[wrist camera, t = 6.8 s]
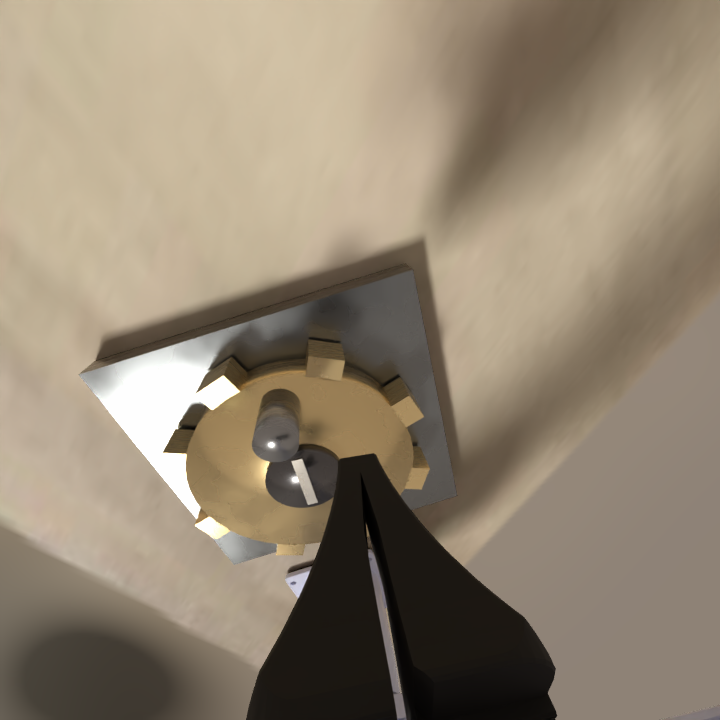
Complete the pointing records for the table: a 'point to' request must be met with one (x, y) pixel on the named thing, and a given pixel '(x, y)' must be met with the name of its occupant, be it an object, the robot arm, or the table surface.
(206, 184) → the table surface
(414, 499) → the cap plate
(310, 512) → the blocky toothed spur gear
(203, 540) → the table surface
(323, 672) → the robot arm
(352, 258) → the table surface
